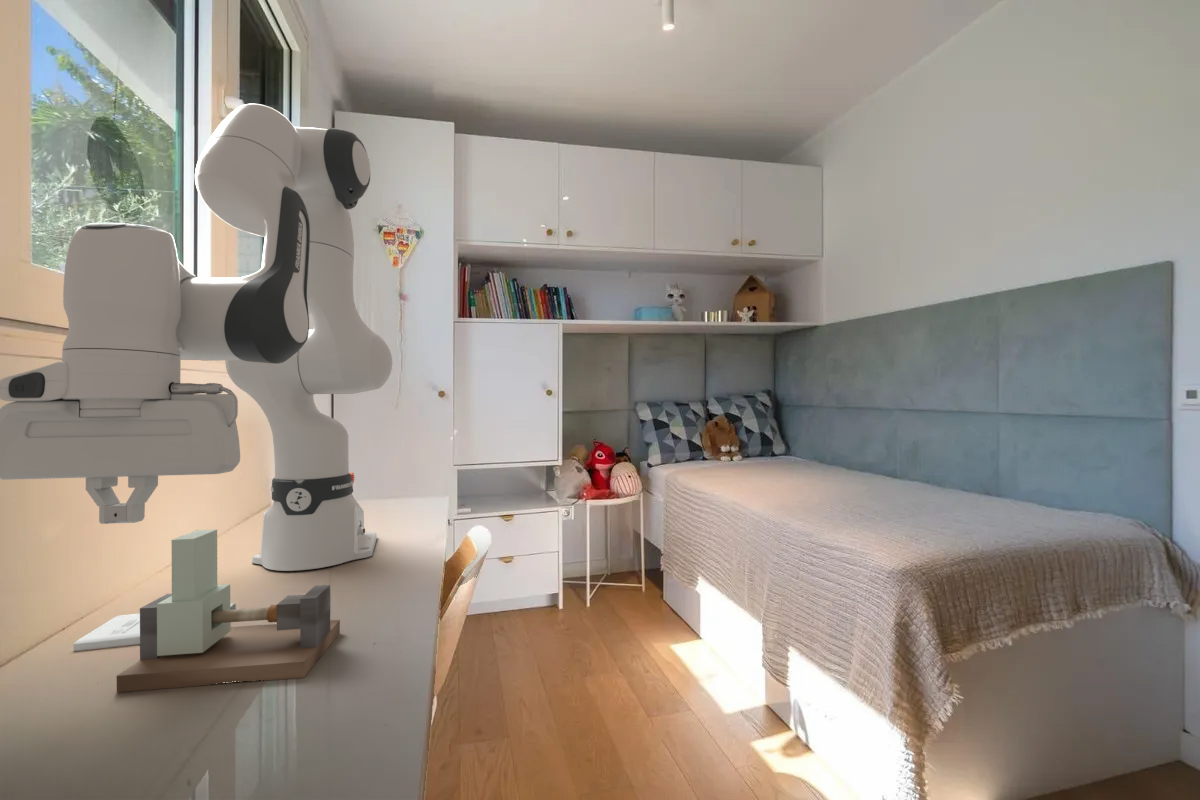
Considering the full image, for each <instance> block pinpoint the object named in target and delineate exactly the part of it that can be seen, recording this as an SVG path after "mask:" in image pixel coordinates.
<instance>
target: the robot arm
mask: <svg viewBox="0 0 1200 800" xmlns="http://www.w3.org/2000/svg"><path fill="white" fill-rule="evenodd" d="M370 182H371V162H370V158H369V156H368V153H367V149H366V148H365V145H364V144H363V142H362V140H361V139H360V138H359V137H358V136H357V135H356V134H355V133H354V132H352V131H348V130H344V129H340V128H335V127H329V128H328V129H327V128H317V127H308V126H307V127H306V126H304V127H303V126H294V124H293V123H292V122H291V121H290V120H289V118H287V116H285V115H284V114H282V113H281V112H280V111H278V110H277V109H274V108H273V107H270V106H269V105H268V106H267V105H265V104H260V103H247V104H245V103H244V104H242V105H239V106H238V107H236V108H235V109H233V111H231V112H230V113H229V114H228V115H227V116H226V117H225V118H224V119H223V120H222V121H221V122H220V124H218V126H217V127H216V129H215V130H214V132H213V133H212V134H211V136H210V138H209V139H208V141H207V143H206V145H205V146H204V149H203V150H202V152H201V154H200V156H199V157H198V160H197V163H196V167H195V173H194V183H195V187H196V190H197V192H198V194H199V197H200V198H201V200H202V201H203V203H204V204H205V206H207V209H209V210H210V211H211V212H212V213H213V214H214V215H215V216H216V217H218V218H219V219H220V220H222V222H224V223H226V224H227V225H229V226H231V227H233V228H235V229H237V230H240V231H241V232H245V233H248V234H251V235H255V236H260V237H262V238H264V242H263V250H262V259H261V266H260V267H261V268H260V269H259V270H258V271H255V272H253V273H251V274H249V275H244V276H241V277H240V276H239V277H197V275H195V274H193V273H192V272H191V271H190V270H188V268H186V267H185V266H184V264H182V263H181V262H180V260H179V256H178V249H177V246H176V242H175V238H174V236H173V234H171V232H169V231H166V230H164V229H161V228H158V227H155V226H150V225H144V224H138V223H134V224H133V223H125V222H91V223H86V224H84V225H82V226H79V227H77V229H76V230H75V231H74V233H73V235H72V237H71V239H70V242H69V245H68V249H67V254H66V259H65V265H64V274H63V289H62V290H63V293H62V297H63V300H62V303H63V309H64V312H65V315H66V317H67V321H68V331H67V335H66V336H65V340H64V341H63V344H62V350H61V353H62V354H61V358H62V359H61V361H57V362H53V363H50V364H47V365H45V366H41V367H38V368H35V369H30V370H28V371H24V372H20V373H16V374H12V375H9V376H6V377H5V376H4V377H3V378H1V379H0V400H2V401H5V402H8V403H6V404H4V405H2V406H1V407H0V480H5V481H8V480H11V481H12V480H43V479H47V480H48V479H76V478H77V479H82V478H84V479H85V491H86V492H87V494H88V495H89V496H90V497H91V499H92V501H93V502H94V504H95V505H96V506H97V507H99V508H98V509H99V510H98V511H99V512H98V519H99V520H98V522H99V523H100V524H101V525H109V524H110V525H112V524H113V525H114V524H134V523H140V522H142V521H143V520H145V509H146V506H145V505H146V503H147V502H148V500H149V499H150V498H151V496H152V494H153V493H154V492H155V490H156V489H157V487H158V486H159V477H160V476H162V477H163V476H195V475H196V476H201V475H220V474H225V473H230V472H233V471H234V470H235V468H237V466H238V465H239V464H240V462H241V447H240V438H239V430H238V426H237V421H236V420H237V418H238V416H239V415H238V413H239V401H238V397H237V395H236V394H235V393H234V391H232V390H231V389H230V388H227V387H224V386H223V384H222V383H217V382H208V383H190V382H187V383H186V382H181V362H182V361H206V362H207V361H208V362H209V361H210V362H211V361H216V362H218V361H221V362H222V361H224V363H225V364H224V365H225V370H226V372H227V374H228V377H229V378H230V380H231V381H232V382H233V384H234V385H235V386H236V387H237V388H239V389H240V390H241V391H244V392H245V393H246V394H247V395H249V396H250V398H252V399H253V400H254V401H255V402H256V404H258V406H259V407H260V409H261V410H262V412H263V413H264V415H265V417H266V419H267V421H268V423H269V426H270V430H271V434H272V442H273V455H274V477H273V478H272V479H271V487H270V492H271V500H272V501H273V503H272V505H271V506H270V507H269V508H267V510H266V511H264V513H263V517H262V529H261V543H260V553H257V554H254V555H253V556H252V559H251V563H252V564H256V565H262V566H263V568H265V569H267V570H271V571H282V572H285V571H286V572H288V571H289V572H293V571H305V570H306V571H307V570H314V569H321V568H326V567H331V566H336V565H341V564H343V563H347V562H350V561H355V560H360V559H365V558H368V557H372V556H373V554H374V550H375V546H376V541H377V539H378V538H377V532H373V531H372V532H371V531H366V528H365V516H364V515H365V514H364V509H363V508H362V506H360V504H359V503H358V501H357V500H356V499H355V497H354V496H353V493H354V487H353V485H354V483H355V482H354V481H355V473H354V472H349V470H350V469H349V467H350V465H349V434H348V431H347V429H346V428H345V426H344V425H343V424H342V423H341V422H340V421H338V420H336V419H335V418H333V417H332V416H329V415H326V414H324V413H322V412H321V411H320V410H319V408H318V407H317V406H316V403H315V400H314V396H315V395H353V394H359V393H360V394H361V393H364V392H370V391H374V390H375V391H376V390H378V389H381V387H383V386H384V385H385V383H387V381H388V380H389V377H390V375H391V373H392V371H393V357H392V356H393V355H392V353H391V350H390V347H389V346H388V344H387V343H386V341H385V340H384V339H383V338H382V337H381V336H380V335H378V334H377V333H376V332H375V331H373V330H372V329H370V327H368V325H367V324H366V323H365V322H364V321H363V319H362V318H361V316H360V314H359V312H358V309H357V307H356V304H355V298H354V297H355V296H354V264H355V263H354V259H355V244H354V242H355V241H354V231H353V225H352V219H351V215H350V211H349V210H352V209H354V208H355V207H356V206H357V204H358V202H359V200H360V199H361V198H362V197H363V196H364V194H365V193H366V192H367V190H368V187H369V185H370ZM309 315H310V316H312V318H313V327H312V329H311V328H310V320H309V319H310V317H309ZM120 477H121V478H122V477H127V487H128V488H129V489H133V491H132V493H131V494H130V495H129V497H128V499H127V501H126V502H125V503H124V502H121V501H120V500H119V498H118V496H117V495H116V493H115V491H114V490H113V488H112V487H118V483H119V481H118V480H119V478H120Z"/></svg>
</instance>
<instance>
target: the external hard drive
mask: <svg viewBox="0 0 1200 800" xmlns="http://www.w3.org/2000/svg"><path fill="white" fill-rule="evenodd" d="M236 607H237V604H236V603H230V610H236V609H237V608H236ZM135 645H136V646H137V645H140V612H138V613H131V614H130V613H129V614H119V615H116V616H114V617H112V618H110V619H109V620H107V621H106V622H104V623H103V624H101V625H100V626H98V627H96V628H95V629H93V630H92V631H90V632H89V633H87V634H85V635H84V636H82V637H80V638H79V639H77V640H76V641H75V642H74V643H73V646H72V647H73V649H72V650H73V652H80V651H88V650H96V649H97V650H98V649H107V648H108V649H109V648H116V647H126V646H127V647H128V646H135Z"/></svg>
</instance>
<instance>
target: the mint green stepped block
mask: <svg viewBox="0 0 1200 800" xmlns="http://www.w3.org/2000/svg"><path fill="white" fill-rule="evenodd" d="M171 594H172V596H171V597H169V598H167V599H165V600H163V601H161V602H160V603H158V604H157V656H163V655H177V654H191V653H203V652H204V651H205V650H207V649H208V648H209V647H211V646H212V645H213V644H215V643H216V642H217V641H218V640H220V639H221V638H222V637H224V636H225V635H226V634H227V633H229V632H230V631H231V627H232V626H231V622H227V623H211V611H219V610H230V604H231V583H230V584H218V529H198V530H197V529H196V530H194V531H191V532H189V533H185V534H183V535H181V536H178V537H176V538H172V539H171Z"/></svg>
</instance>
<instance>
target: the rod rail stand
mask: <svg viewBox="0 0 1200 800" xmlns="http://www.w3.org/2000/svg"><path fill="white" fill-rule="evenodd" d="M171 596H172V593H167V594H166V593H165V594H164V595H162V596H161V597H159V598H157V599H154V600H153V601H151V602H150V603H147V604H145V605H143V606H141V607H140V608H139V613H140V644H139V660H138V661H137V662H134V664H132V665H131V666H129V667H128V668H126V669H125V670H123V671H122V672H120V673H119V674H117V675H116V693H125V692H135V691H136V692H137V691H150V690H151V691H152V690H162V689H174V688H175V689H176V688H186V687H187V688H189V687H200V686H201V685H202V686H211V684H215V685H219V684H218V683H223V682H225V683H226V682H232V681H233V682H234V681H236V682H238V681H239V682H240V681H242V682H240V683H244V682H243V681H252V682H259V681H258V680H261V681H262V682H264V681H274V680H275V681H276V680H286V679H287V680H288V679H299V678H305V677H306V676H307V675H308V673H309V672H310V671H311V670H312V668H313V667H314V666H315V665H316V664H317V662H318V661H319V659H320V658H321V657H322V656H323V655H324V653H325V652H326V651H327V650H328V648H329V647H331V645H332V643H333V642H334V641H335V640H336V639H337V637H338V636H339V635H340V633H341V619H333V620H331V584H321V585H320V584H317V585H314V586H313V587H312V588H311V589H309V591H307V592H306V593H305V594H297V595H295V594H294V595H286V597H284V598H283V599H282V600H281V601H279V602H278V603H277V604H271V605H270V606H269V607H256V608H255V607H254V608H240V609H237V608H236V610H219V611H211V623H227V622H230V623H239V622H240V623H241V622H257V621H267V623H269V624H257V625H256V624H255V625H241V626H240V625H239V626H231V631H230V632H229V633H227V634H226V635H225V636H224V637H222V638H221V639H220V640H218V641H217V642H216V643H215V644H213V645H212V646H211V647H209V648H208V649H207V650H205V651H204V652H203V653H191V654H177V655H163V656H157V604H158V603H160V602H161V601H163V600H165V599H167V598H169V597H171ZM270 623H271V624H270ZM256 680H257V681H256ZM263 680H264V681H263ZM261 681H260V682H261ZM216 683H217V684H216Z"/></svg>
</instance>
